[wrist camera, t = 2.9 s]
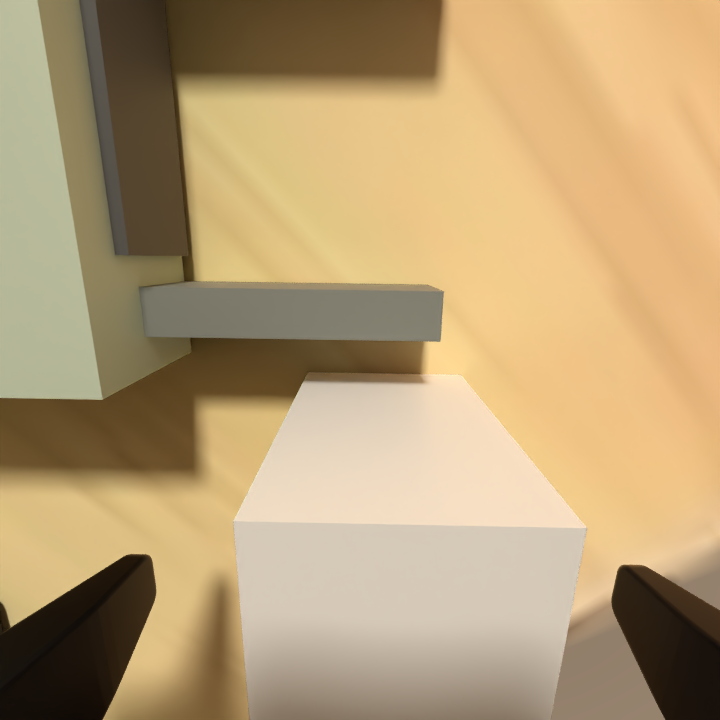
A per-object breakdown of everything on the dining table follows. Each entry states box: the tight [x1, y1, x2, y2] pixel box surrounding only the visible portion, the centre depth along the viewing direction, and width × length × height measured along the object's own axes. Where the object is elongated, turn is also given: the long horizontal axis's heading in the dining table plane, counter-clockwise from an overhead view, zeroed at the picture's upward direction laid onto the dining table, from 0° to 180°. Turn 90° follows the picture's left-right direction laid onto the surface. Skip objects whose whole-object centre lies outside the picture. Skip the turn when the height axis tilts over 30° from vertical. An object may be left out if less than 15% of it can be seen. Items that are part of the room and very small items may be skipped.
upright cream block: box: [233, 372, 587, 720], centre depth 8 cm, size 4×6×6 cm, turn 179°
